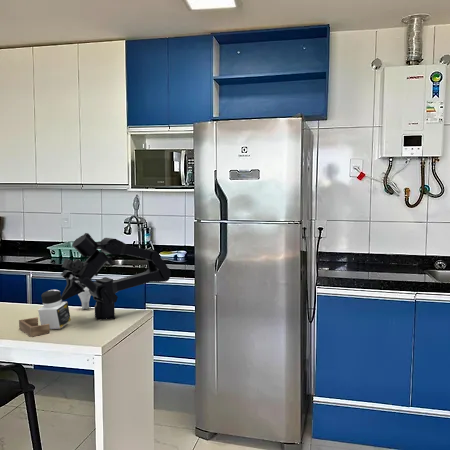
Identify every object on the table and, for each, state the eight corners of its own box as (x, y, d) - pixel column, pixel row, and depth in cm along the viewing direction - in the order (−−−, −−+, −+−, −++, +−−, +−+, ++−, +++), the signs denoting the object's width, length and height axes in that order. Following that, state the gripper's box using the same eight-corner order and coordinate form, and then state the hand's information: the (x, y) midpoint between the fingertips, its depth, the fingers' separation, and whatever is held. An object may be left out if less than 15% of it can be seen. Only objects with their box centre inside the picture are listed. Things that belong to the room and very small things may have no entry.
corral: (37, 325, 164) (37, 317, 164) (49, 333, 155) (49, 324, 155) (19, 328, 160) (19, 320, 160) (30, 336, 151) (30, 327, 151)
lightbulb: (76, 308, 188) (75, 280, 188) (92, 306, 191) (92, 279, 190) (77, 311, 183) (77, 283, 182) (94, 310, 185) (94, 282, 184)
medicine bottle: (60, 328, 158) (54, 294, 156) (41, 329, 159) (34, 295, 157) (71, 320, 165) (65, 287, 163) (52, 321, 166) (46, 288, 164)
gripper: (66, 248, 173) (35, 280, 166) (88, 253, 158) (55, 289, 152) (86, 268, 178) (57, 300, 171) (109, 274, 164) (78, 310, 157)
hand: (61, 299), depth 163 cm, fingers closed, pressing on medicine bottle
